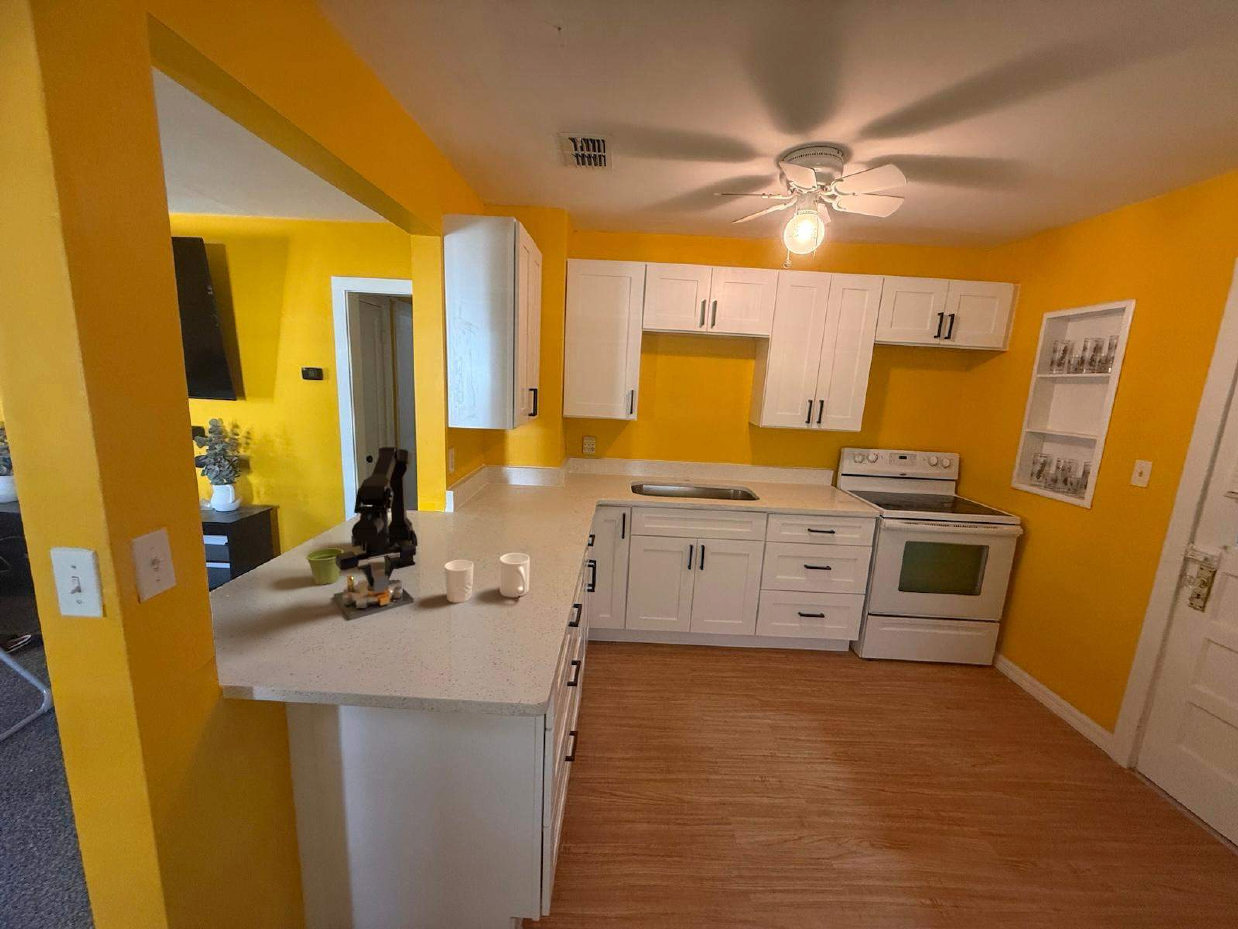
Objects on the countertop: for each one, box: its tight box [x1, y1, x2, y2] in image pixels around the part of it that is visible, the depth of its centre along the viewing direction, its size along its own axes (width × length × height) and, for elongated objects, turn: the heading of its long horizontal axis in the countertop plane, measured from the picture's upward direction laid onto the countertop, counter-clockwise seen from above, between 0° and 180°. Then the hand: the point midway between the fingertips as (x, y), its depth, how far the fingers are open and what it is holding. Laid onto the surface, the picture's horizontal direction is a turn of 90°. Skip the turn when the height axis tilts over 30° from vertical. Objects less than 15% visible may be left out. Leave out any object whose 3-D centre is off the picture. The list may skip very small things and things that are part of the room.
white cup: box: [444, 559, 475, 604], centre depth 132 cm, size 8×8×10 cm
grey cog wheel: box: [342, 575, 404, 608], centre depth 128 cm, size 15×15×6 cm
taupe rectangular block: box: [369, 569, 389, 593], centre depth 125 cm, size 4×5×4 cm
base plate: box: [333, 579, 415, 621], centre depth 129 cm, size 16×16×1 cm
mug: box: [499, 552, 531, 598], centre depth 136 cm, size 9×12×11 cm
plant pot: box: [305, 547, 344, 586], centre depth 138 cm, size 9×9×9 cm
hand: (378, 584), depth 125 cm, fingers closed on taupe rectangular block, 3 cm apart
